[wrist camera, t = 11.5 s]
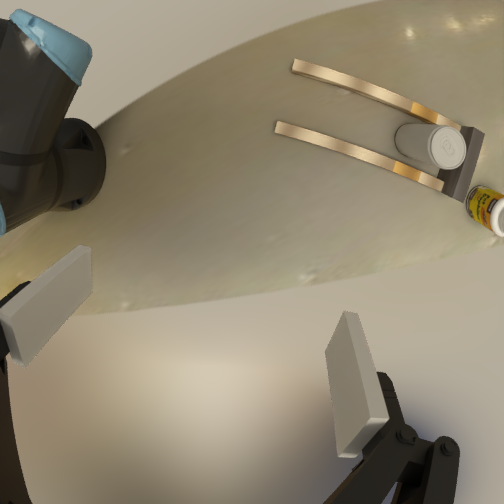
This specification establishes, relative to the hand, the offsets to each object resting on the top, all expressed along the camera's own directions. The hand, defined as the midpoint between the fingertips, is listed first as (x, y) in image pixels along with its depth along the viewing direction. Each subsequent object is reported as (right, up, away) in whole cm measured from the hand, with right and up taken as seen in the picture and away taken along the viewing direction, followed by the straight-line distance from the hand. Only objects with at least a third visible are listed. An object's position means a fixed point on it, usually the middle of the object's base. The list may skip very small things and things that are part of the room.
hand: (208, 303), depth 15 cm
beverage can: (+24, +18, +23) cm, 37 cm away
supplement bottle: (+37, +10, +24) cm, 46 cm away
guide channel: (+18, +19, +22) cm, 35 cm away
